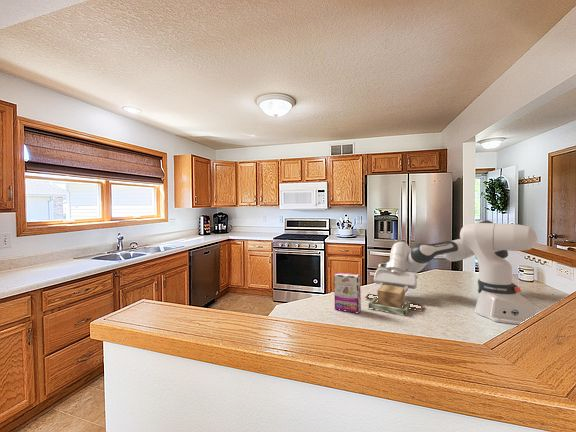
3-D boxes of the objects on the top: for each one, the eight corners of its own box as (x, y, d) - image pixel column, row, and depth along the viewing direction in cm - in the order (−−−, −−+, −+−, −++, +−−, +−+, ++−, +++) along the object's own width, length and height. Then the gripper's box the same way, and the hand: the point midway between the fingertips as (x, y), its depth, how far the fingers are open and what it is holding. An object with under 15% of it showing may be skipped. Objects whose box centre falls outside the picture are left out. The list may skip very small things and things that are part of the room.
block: (404, 304, 130) (404, 287, 130) (400, 311, 122) (400, 293, 121) (382, 300, 135) (382, 284, 135) (377, 307, 127) (377, 290, 127)
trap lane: (423, 304, 128) (423, 299, 128) (418, 318, 114) (418, 312, 114) (368, 295, 142) (368, 291, 142) (357, 307, 128) (357, 301, 127)
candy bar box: (361, 309, 124) (360, 274, 123) (358, 313, 120) (358, 277, 119) (337, 306, 129) (337, 272, 129) (334, 309, 125) (333, 274, 124)
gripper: (419, 274, 137) (416, 299, 130) (378, 270, 148) (373, 293, 141) (418, 268, 133) (415, 293, 126) (375, 263, 144) (370, 287, 137)
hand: (392, 293), depth 133 cm, fingers open, 8 cm apart
